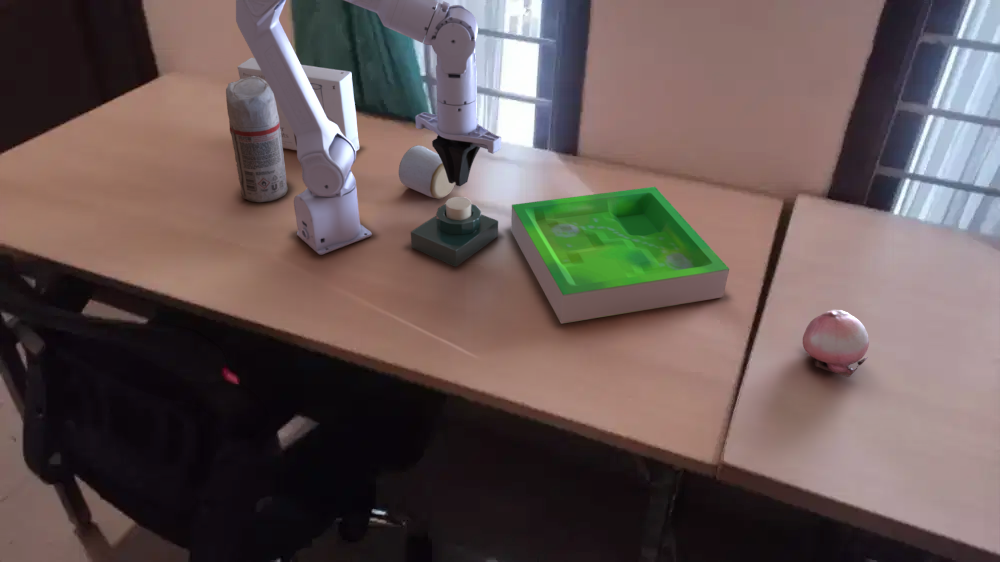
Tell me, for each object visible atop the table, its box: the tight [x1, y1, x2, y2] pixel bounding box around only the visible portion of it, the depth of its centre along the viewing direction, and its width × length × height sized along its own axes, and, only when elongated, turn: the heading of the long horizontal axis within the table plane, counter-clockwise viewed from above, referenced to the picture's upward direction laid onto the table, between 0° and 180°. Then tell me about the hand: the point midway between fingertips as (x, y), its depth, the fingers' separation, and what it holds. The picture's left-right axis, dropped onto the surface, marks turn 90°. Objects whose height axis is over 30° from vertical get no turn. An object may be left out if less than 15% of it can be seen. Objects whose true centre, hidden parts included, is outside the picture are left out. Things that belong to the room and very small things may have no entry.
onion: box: [802, 309, 870, 378], centre depth 99 cm, size 8×8×7 cm
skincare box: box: [237, 57, 360, 152], centre depth 146 cm, size 21×5×16 cm, turn 73°
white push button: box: [445, 196, 472, 220], centre depth 121 cm, size 4×4×2 cm
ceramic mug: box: [398, 144, 456, 200], centre depth 136 cm, size 11×8×8 cm
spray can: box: [225, 76, 289, 203], centre depth 130 cm, size 8×8×20 cm
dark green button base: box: [410, 203, 499, 268], centre depth 122 cm, size 11×9×5 cm
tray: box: [510, 186, 730, 324], centre depth 118 cm, size 25×25×5 cm
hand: (458, 182), depth 118 cm, fingers closed
